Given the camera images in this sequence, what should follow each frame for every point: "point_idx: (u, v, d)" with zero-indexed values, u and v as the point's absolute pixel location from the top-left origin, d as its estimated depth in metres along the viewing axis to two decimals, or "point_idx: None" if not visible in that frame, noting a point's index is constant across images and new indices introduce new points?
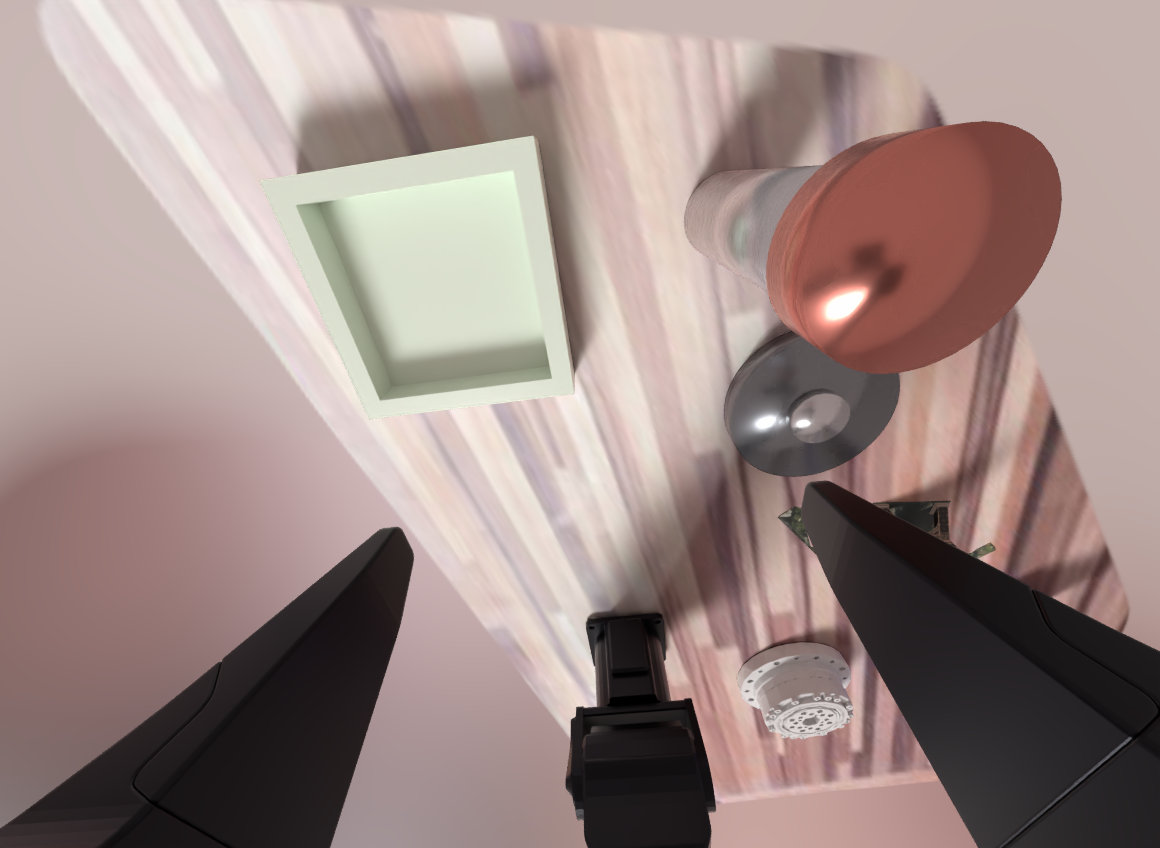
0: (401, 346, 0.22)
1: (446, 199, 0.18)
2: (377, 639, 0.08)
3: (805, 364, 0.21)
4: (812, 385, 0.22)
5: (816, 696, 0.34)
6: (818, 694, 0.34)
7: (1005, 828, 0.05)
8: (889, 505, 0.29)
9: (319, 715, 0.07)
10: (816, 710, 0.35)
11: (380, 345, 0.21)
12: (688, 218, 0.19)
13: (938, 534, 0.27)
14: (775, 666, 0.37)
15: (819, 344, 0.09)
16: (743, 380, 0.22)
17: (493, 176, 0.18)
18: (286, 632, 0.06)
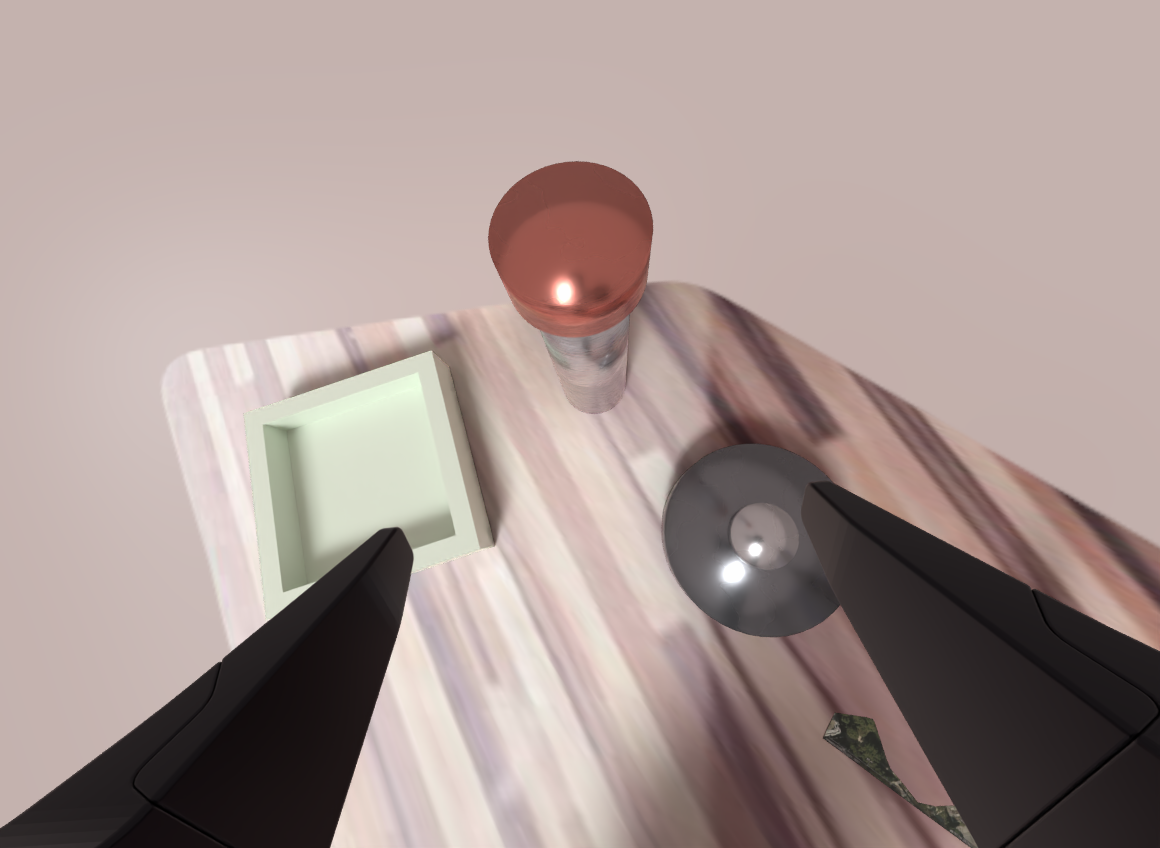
0: (324, 539, 0.22)
1: (379, 410, 0.24)
2: (377, 639, 0.08)
3: (717, 481, 0.21)
4: (738, 502, 0.20)
5: None
6: None
7: (1006, 828, 0.05)
8: None
9: (319, 715, 0.07)
10: None
11: (306, 542, 0.22)
12: None
13: None
14: None
15: (521, 292, 0.11)
16: (665, 514, 0.21)
17: (414, 389, 0.24)
18: (286, 632, 0.06)
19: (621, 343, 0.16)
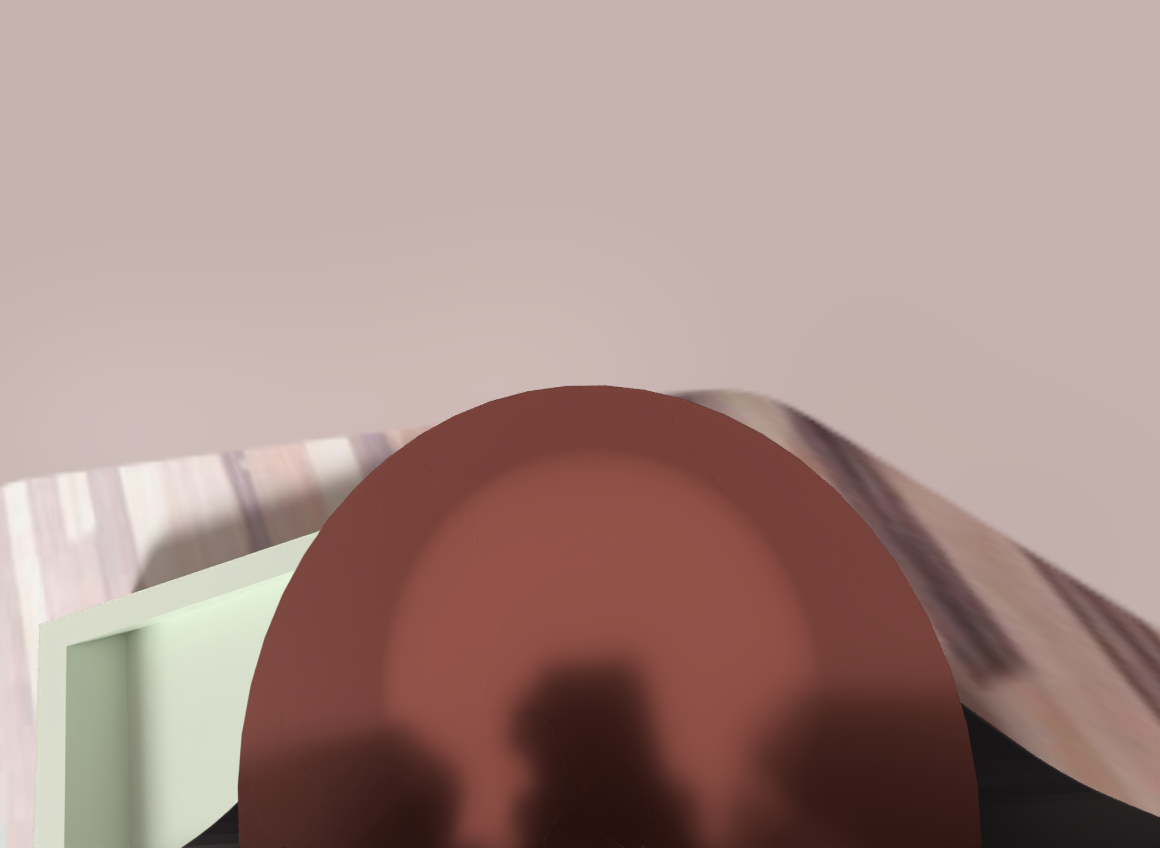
0: (167, 838, 0.14)
1: (270, 602, 0.15)
2: None
3: None
4: None
5: None
6: None
7: None
8: None
9: None
10: None
11: (137, 841, 0.14)
12: None
13: None
14: None
15: None
16: None
17: None
18: None
19: None
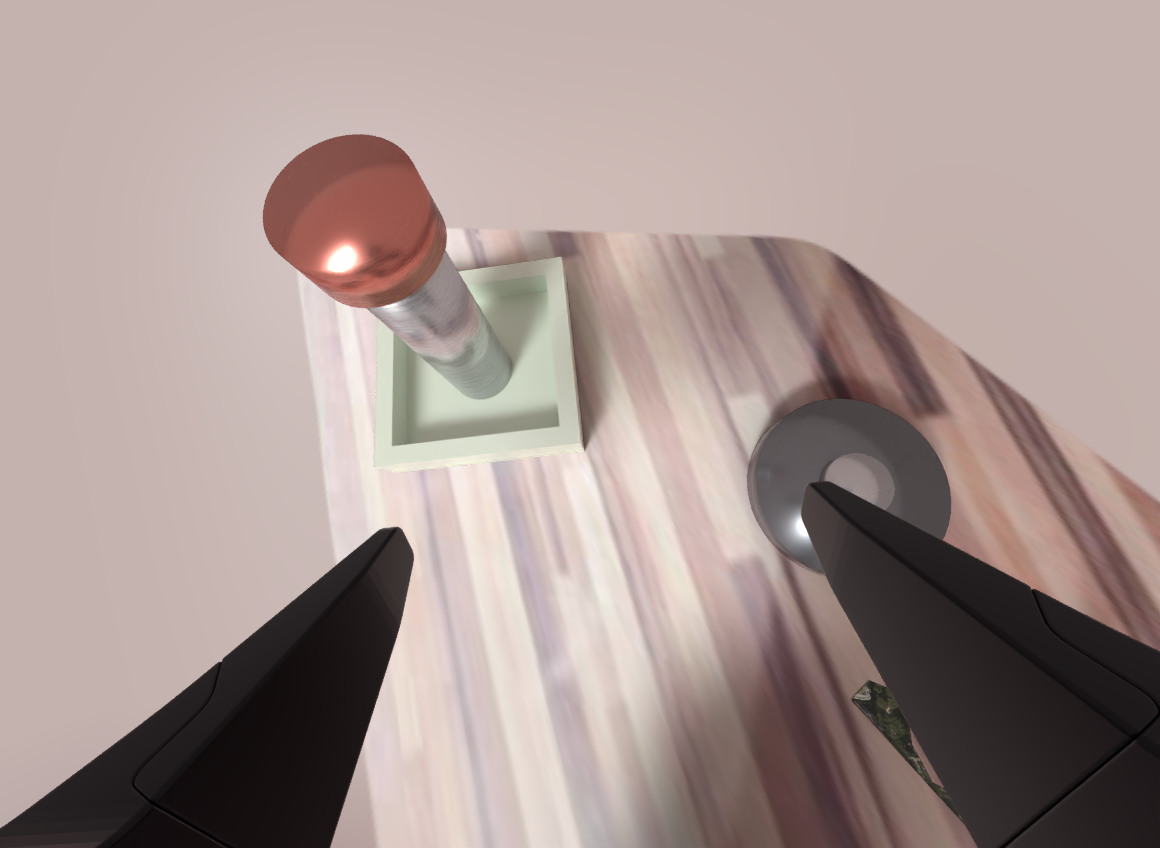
0: (429, 413, 0.24)
1: (497, 307, 0.25)
2: (377, 639, 0.08)
3: (817, 428, 0.21)
4: (835, 452, 0.21)
5: None
6: None
7: (1006, 828, 0.05)
8: None
9: (319, 715, 0.07)
10: None
11: (411, 412, 0.24)
12: None
13: None
14: None
15: (296, 264, 0.11)
16: (758, 450, 0.22)
17: (532, 294, 0.25)
18: (286, 632, 0.06)
19: (461, 314, 0.17)
